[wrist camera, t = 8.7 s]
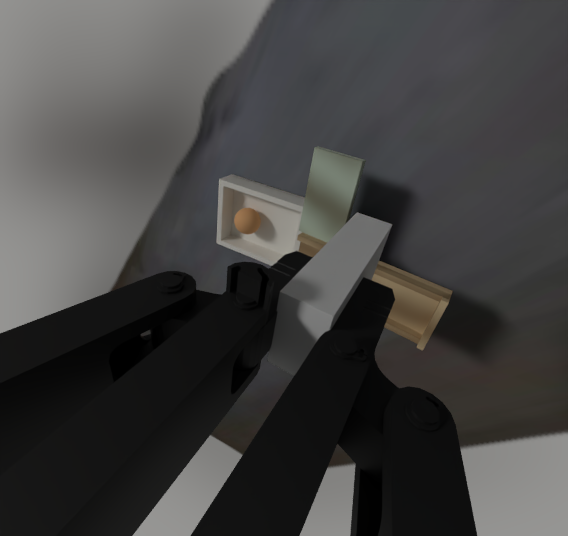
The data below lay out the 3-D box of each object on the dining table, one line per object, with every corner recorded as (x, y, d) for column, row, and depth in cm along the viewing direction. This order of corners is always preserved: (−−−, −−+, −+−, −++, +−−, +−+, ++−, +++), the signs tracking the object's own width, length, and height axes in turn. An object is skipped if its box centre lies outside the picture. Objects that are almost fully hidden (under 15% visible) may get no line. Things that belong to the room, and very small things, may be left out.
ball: (258, 203, 44) (232, 203, 43) (265, 214, 41) (238, 214, 40) (255, 226, 46) (231, 227, 45) (262, 238, 43) (236, 239, 42)
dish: (232, 174, 43) (219, 179, 41) (316, 201, 40) (307, 208, 37) (228, 235, 49) (216, 243, 46) (302, 265, 45) (293, 274, 42)
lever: (319, 146, 32) (306, 149, 30) (502, 199, 25) (500, 207, 23) (292, 277, 40) (282, 285, 38) (425, 341, 34) (419, 356, 32)
